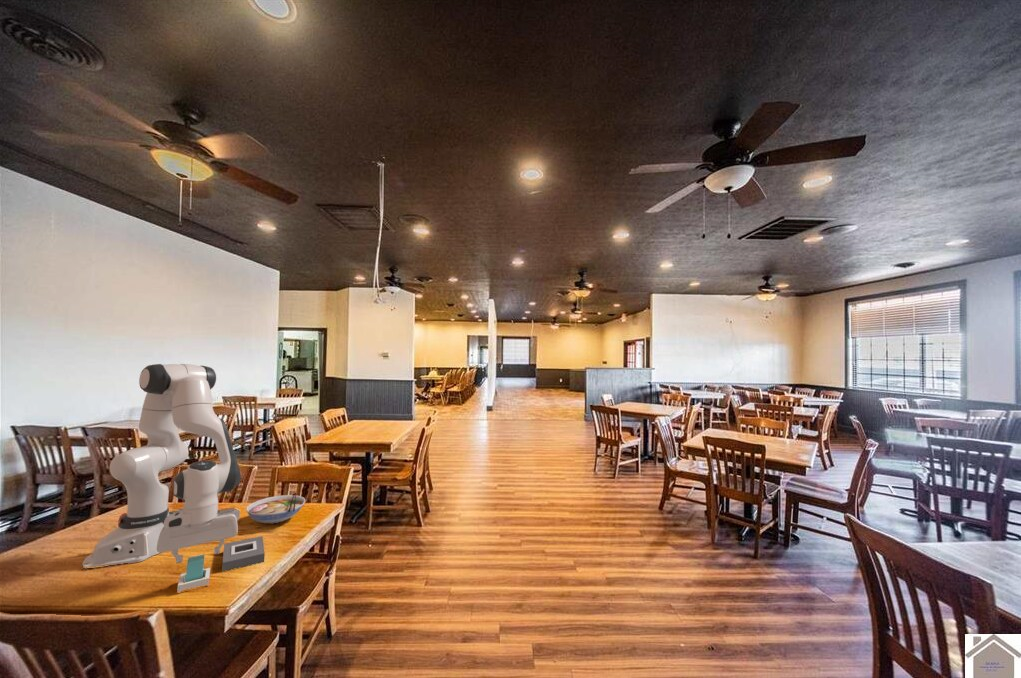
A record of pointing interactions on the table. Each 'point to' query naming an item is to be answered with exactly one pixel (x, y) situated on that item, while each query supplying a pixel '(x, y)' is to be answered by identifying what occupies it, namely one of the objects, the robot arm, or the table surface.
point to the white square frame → (193, 583)
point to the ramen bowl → (275, 508)
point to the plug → (195, 568)
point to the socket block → (243, 553)
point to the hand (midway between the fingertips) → (198, 557)
